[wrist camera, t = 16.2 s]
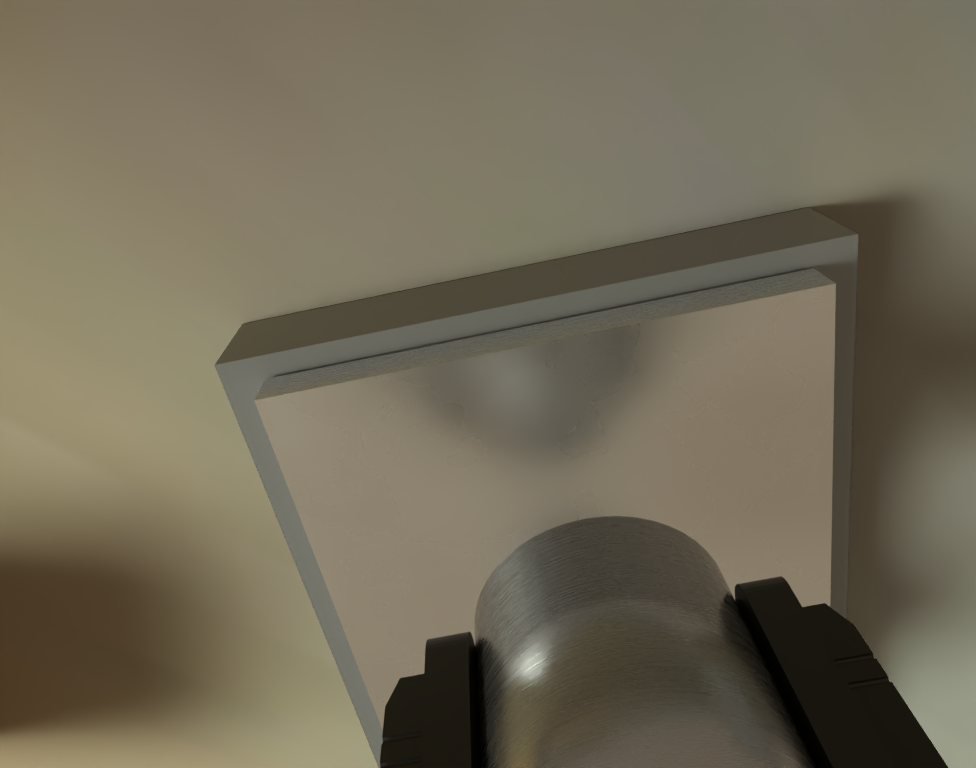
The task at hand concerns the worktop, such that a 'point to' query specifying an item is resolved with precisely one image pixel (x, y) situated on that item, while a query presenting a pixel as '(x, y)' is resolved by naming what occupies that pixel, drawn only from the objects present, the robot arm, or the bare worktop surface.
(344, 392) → the shower mixer plate
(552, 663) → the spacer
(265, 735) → the worktop surface
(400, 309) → the scale
